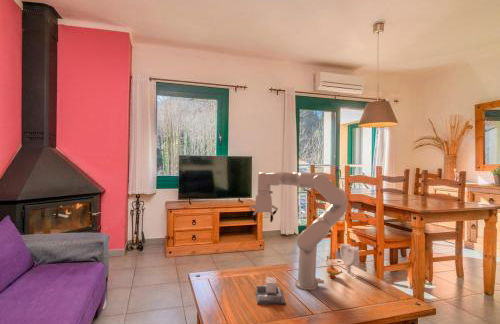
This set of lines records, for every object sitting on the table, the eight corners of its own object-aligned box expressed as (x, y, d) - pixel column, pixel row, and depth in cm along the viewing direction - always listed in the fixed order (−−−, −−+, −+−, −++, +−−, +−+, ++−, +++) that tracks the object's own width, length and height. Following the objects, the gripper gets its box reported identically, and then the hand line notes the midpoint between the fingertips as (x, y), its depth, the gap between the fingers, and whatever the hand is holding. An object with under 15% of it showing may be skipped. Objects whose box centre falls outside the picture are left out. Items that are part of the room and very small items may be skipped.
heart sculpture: (338, 269, 189) (339, 242, 189) (345, 269, 190) (346, 241, 190) (352, 279, 174) (353, 249, 174) (359, 278, 175) (360, 249, 175)
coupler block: (274, 292, 152) (275, 277, 151) (276, 299, 145) (276, 283, 144) (265, 292, 151) (265, 277, 151) (266, 298, 144) (266, 282, 144)
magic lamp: (336, 285, 166) (337, 265, 165) (321, 272, 183) (321, 255, 183) (347, 284, 167) (348, 265, 167) (330, 272, 185) (331, 254, 185)
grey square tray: (281, 291, 155) (282, 285, 155) (285, 304, 141) (286, 297, 141) (255, 291, 155) (256, 284, 155) (257, 304, 141) (257, 297, 141)
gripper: (277, 192, 176) (276, 220, 176) (249, 191, 176) (248, 220, 176) (279, 194, 169) (278, 223, 169) (249, 193, 168) (248, 222, 169)
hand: (262, 221), depth 172 cm, fingers open, 9 cm apart
